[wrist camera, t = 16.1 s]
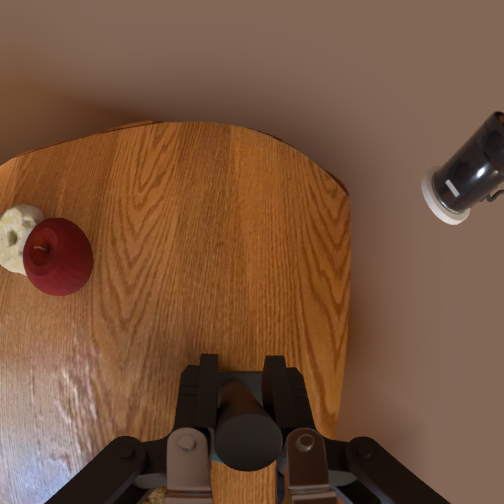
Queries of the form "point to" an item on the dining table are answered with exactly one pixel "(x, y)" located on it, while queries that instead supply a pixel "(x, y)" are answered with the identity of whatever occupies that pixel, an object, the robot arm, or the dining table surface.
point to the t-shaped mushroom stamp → (244, 423)
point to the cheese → (16, 234)
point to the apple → (57, 257)
